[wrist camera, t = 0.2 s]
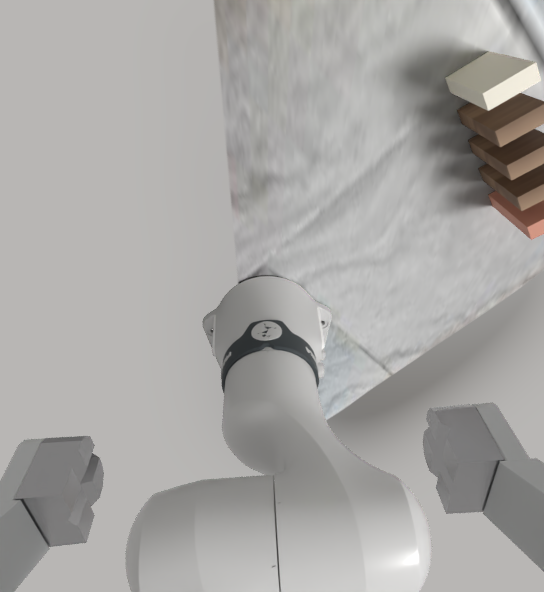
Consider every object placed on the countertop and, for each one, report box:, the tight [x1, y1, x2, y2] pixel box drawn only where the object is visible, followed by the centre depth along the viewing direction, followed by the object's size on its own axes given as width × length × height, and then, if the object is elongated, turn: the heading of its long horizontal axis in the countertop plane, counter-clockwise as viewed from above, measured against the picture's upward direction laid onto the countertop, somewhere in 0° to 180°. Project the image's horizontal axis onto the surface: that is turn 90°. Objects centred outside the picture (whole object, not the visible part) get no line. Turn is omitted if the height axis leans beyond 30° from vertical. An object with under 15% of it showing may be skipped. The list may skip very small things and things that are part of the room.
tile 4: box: [457, 93, 544, 147], centre depth 49 cm, size 2×5×10 cm, turn 122°
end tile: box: [488, 191, 544, 240], centre depth 55 cm, size 2×5×10 cm, turn 122°
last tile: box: [445, 51, 541, 111], centre depth 47 cm, size 2×5×10 cm, turn 121°
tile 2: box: [478, 164, 544, 211], centre depth 53 cm, size 2×5×10 cm, turn 121°
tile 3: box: [468, 129, 544, 180], centre depth 51 cm, size 2×5×10 cm, turn 122°
